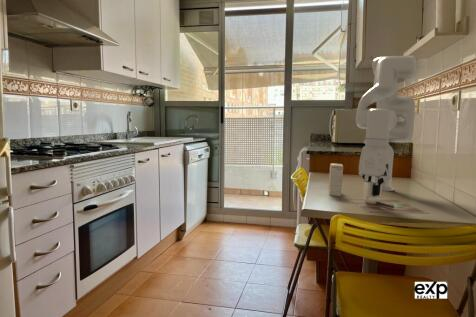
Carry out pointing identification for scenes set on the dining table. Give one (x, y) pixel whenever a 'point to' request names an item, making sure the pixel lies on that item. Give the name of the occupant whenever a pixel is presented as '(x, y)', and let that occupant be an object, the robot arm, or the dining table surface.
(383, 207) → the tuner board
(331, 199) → the dining table surface
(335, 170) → the supplement box
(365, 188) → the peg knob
